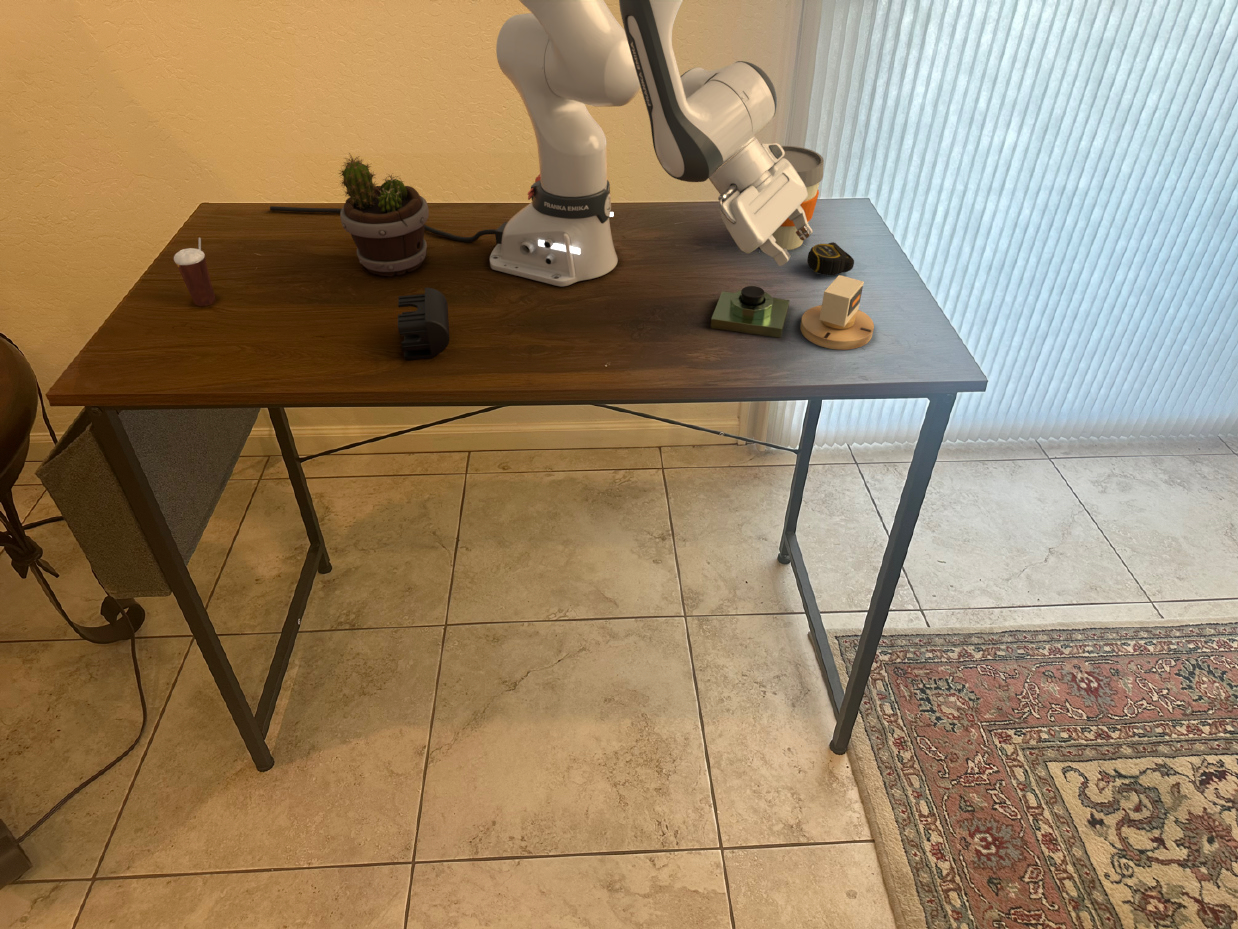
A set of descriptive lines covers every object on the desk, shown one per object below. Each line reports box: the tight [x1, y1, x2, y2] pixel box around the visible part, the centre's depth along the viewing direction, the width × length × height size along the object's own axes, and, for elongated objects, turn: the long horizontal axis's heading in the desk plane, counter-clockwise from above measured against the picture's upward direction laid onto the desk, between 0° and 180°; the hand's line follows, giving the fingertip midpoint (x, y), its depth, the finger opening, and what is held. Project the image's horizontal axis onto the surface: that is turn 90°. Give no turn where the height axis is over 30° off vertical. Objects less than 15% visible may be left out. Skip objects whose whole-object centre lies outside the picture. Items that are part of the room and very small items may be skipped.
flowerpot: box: [337, 152, 430, 277], centre depth 145 cm, size 14×15×20 cm
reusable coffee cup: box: [772, 145, 825, 251], centre depth 153 cm, size 13×13×15 cm
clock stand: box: [799, 304, 875, 351], centre depth 133 cm, size 11×11×2 cm
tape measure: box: [806, 242, 855, 277], centre depth 147 cm, size 7×7×4 cm
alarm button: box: [740, 285, 766, 306], centre depth 134 cm, size 4×4×2 cm
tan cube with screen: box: [819, 274, 865, 329], centre depth 131 cm, size 5×6×6 cm
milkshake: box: [173, 237, 216, 307], centre depth 139 cm, size 5×5×10 cm
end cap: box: [397, 287, 450, 361], centre depth 130 cm, size 10×7×7 cm
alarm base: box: [710, 289, 790, 339], centre depth 136 cm, size 11×9×4 cm
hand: (797, 249), depth 131 cm, fingers open, 8 cm apart
